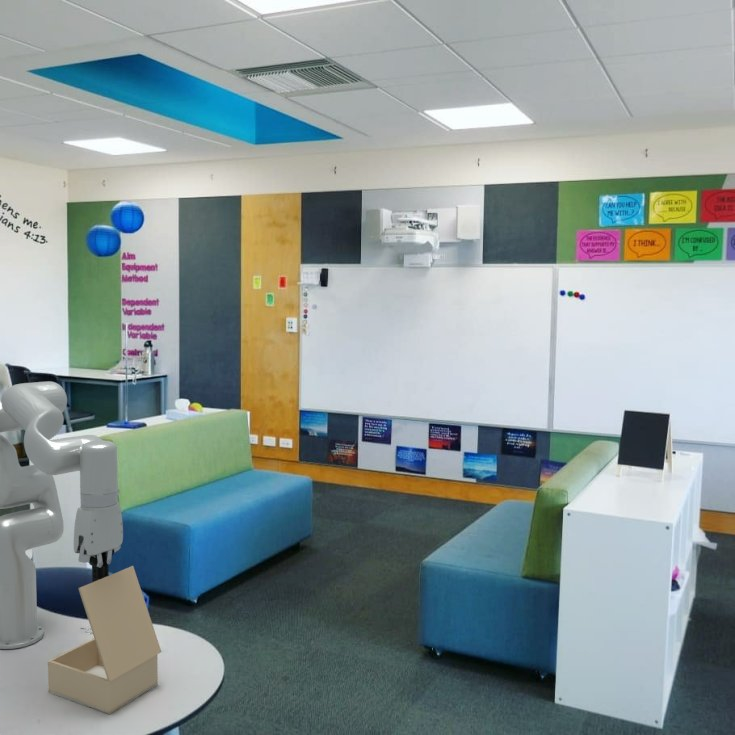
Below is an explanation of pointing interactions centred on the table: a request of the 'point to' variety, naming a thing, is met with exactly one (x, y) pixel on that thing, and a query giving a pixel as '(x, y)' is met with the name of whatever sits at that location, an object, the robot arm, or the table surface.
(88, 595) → the lid
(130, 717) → the table surface
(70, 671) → the box
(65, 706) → the table surface
